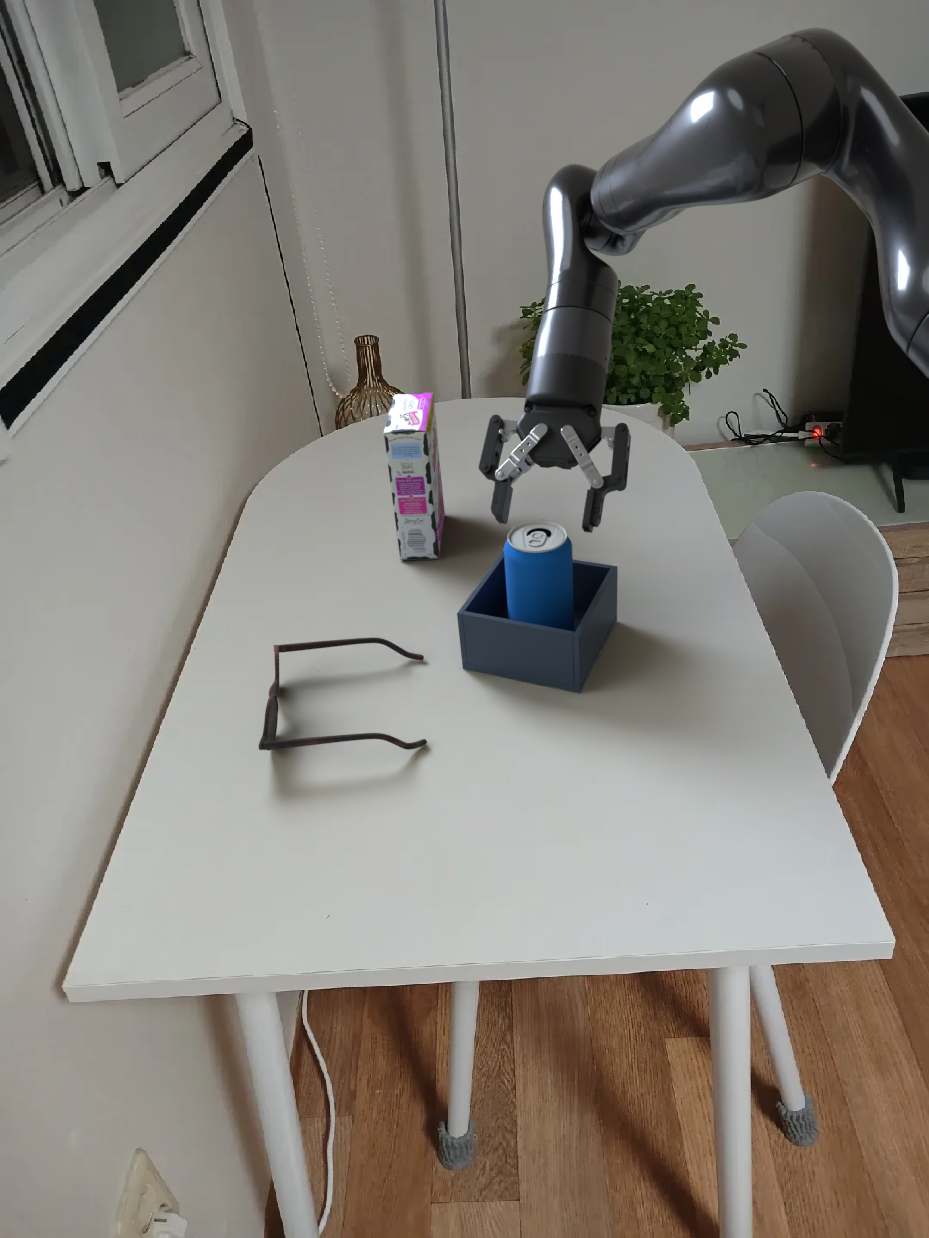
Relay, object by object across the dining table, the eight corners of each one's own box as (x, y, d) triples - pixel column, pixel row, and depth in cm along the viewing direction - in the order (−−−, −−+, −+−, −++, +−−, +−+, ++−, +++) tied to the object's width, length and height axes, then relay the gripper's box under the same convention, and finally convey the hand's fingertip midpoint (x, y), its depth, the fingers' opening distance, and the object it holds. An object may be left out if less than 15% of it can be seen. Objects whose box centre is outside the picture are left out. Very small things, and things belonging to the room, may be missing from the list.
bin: (617, 621, 99) (617, 566, 95) (580, 693, 90) (579, 636, 86) (507, 601, 103) (504, 548, 99) (462, 668, 95) (456, 613, 91)
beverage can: (579, 621, 98) (577, 520, 91) (567, 660, 93) (564, 556, 86) (518, 615, 100) (511, 515, 93) (503, 653, 95) (495, 550, 88)
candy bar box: (442, 560, 111) (427, 430, 102) (399, 562, 112) (380, 433, 102) (447, 513, 120) (434, 389, 111) (408, 515, 121) (391, 392, 111)
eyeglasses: (278, 669, 97) (268, 630, 94) (423, 653, 97) (418, 613, 94) (264, 771, 85) (252, 729, 82) (430, 752, 85) (424, 710, 82)
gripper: (490, 347, 92) (462, 509, 90) (637, 353, 88) (611, 523, 86) (509, 378, 99) (483, 529, 97) (646, 385, 95) (622, 543, 93)
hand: (543, 526), depth 92 cm, fingers open, 8 cm apart
